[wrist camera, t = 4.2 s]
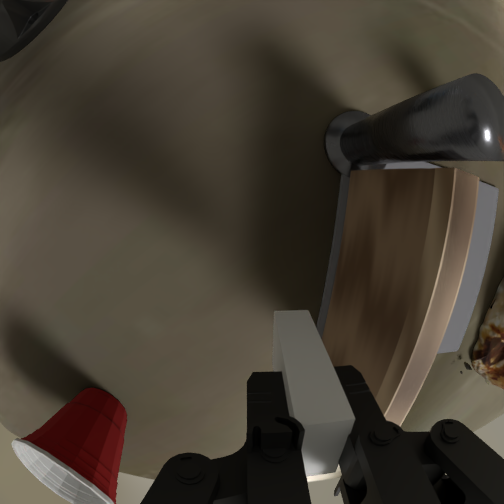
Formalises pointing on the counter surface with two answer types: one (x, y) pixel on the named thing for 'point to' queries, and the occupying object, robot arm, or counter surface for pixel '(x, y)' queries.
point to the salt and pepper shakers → (423, 129)
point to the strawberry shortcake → (491, 343)
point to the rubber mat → (472, 269)
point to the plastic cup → (79, 448)
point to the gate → (399, 276)
